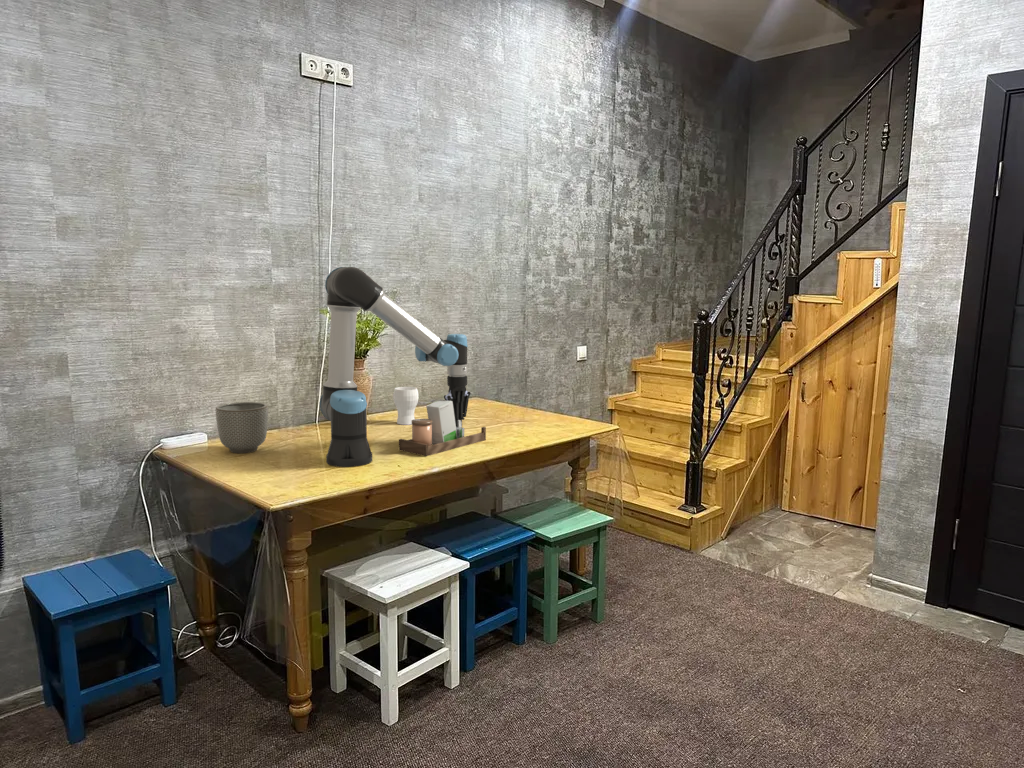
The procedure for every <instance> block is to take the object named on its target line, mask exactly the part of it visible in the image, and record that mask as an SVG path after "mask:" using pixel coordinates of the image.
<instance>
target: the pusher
mask: <svg viewBox="0 0 1024 768" xmlns="http://www.w3.org/2000/svg"><path fill="white" fill-rule="evenodd" d="M456 431H457V439H458V438H462V437H465V428H464V427H463V426H462V427H456Z"/></svg>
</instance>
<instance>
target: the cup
mask: <svg viewBox="0 0 1024 768" xmlns="http://www.w3.org/2000/svg"><path fill="white" fill-rule="evenodd" d="M392 398H393V399H392V400H393V402H394V406H395V407H396V409H397V410H396V411H397V420H396V424H397V425H401V426H402V425H403V426H405V425H406V426H408V425H412V420H414V419H416V418H415V412H416V411H415V409H416V407H417V405H418V402H419V398H420V397H419V390H418V387H416V386H398V387H394V389H393V396H392Z"/></svg>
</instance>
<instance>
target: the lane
mask: <svg viewBox="0 0 1024 768" xmlns="http://www.w3.org/2000/svg"><path fill="white" fill-rule="evenodd" d="M486 435H487V427H486V426H482V427H481V432H479V433H474V434H470V435H465V436H464V437H462V438H458V439H454V440H450V441H446V442H442V443H438V444H435V445H431V446H428V444H424V443H419V442H414V441H412V438H409V439H405V438H399V439H398V451H400V452H405V453H409V454H413V455H414V454H415V455H419V456H423V457H428V456H432V455H436V454H439V453H443V452H447V451H451V450H454V449H457V448H462V447H465V446H468V445H473V444H477V443H479V442H483V441H486V440H487V436H486Z"/></svg>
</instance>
